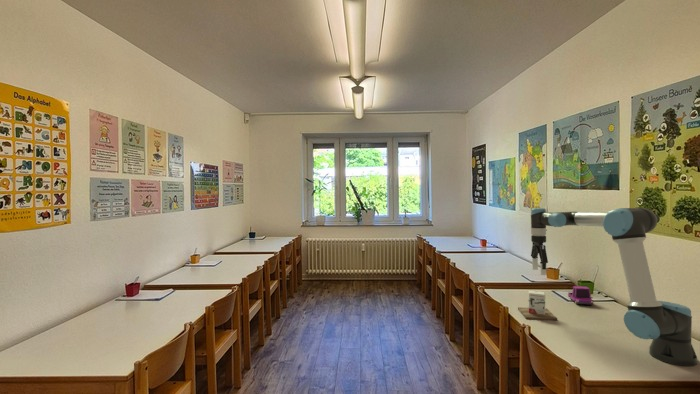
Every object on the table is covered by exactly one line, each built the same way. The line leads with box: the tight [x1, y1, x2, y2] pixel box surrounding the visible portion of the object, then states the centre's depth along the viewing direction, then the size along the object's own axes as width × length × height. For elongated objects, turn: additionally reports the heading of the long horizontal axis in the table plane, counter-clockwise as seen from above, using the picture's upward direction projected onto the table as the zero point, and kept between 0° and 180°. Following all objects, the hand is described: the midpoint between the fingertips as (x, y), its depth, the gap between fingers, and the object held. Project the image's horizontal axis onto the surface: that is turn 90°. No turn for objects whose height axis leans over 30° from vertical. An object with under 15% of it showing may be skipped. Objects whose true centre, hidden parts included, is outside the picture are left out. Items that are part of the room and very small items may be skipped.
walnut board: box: [517, 306, 558, 321], centre depth 204 cm, size 16×16×1 cm
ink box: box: [527, 290, 546, 315], centre depth 204 cm, size 9×5×12 cm, turn 66°
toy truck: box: [567, 285, 594, 306], centre depth 224 cm, size 11×16×10 cm
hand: (539, 272), depth 203 cm, fingers open, 13 cm apart
